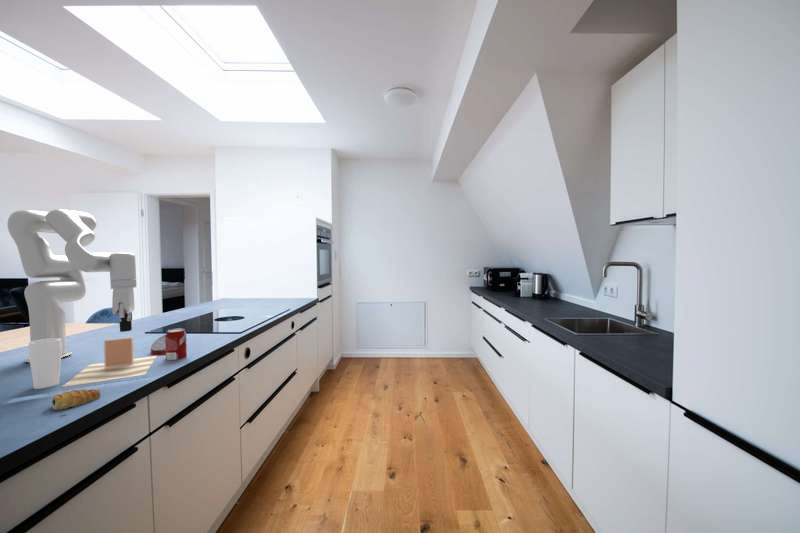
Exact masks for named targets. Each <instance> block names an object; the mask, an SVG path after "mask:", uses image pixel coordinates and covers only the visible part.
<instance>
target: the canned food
mask: <svg viewBox="0 0 800 533" xmlns="http://www.w3.org/2000/svg"><path fill="white" fill-rule="evenodd" d="M165 335H166V334H164V335H162V336H160V337H159V338H157V339H156V340H155V341H154V342H152V344H151V346H150V354H151V355H152V356H158V355H166V347H165Z"/></svg>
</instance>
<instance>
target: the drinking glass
mask: <svg viewBox="0 0 800 533" xmlns="http://www.w3.org/2000/svg"><path fill="white" fill-rule="evenodd" d="M28 357H29V360H30V363H29V366H30V370H31V376H32V377H31V378H32V383H33V389H35V390H37V389H38V390H39V389H47V388H50V387H54V386H57V385H59V384H60V382H61V379H60V378H61V367H62V359H61V357H62V341H61V338H48V339H41V340H35V341H32V342H30V341H29V342H28Z"/></svg>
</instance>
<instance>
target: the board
mask: <svg viewBox="0 0 800 533" xmlns="http://www.w3.org/2000/svg"><path fill="white" fill-rule="evenodd" d="M157 357H158V355H152V356H146V357H137V358H135V357H134V362H135V363H134V364H129V365H122V366H115V367H107V368H104V362H98V363H90V364H88V365H87V366H86V367H85V368H83V369H82V370H81V371H79V372H78V373H77V374H76V375H75V376H73V377H72V378H71V379H69V380H68V381H67V382H66V383H65V384H63V385H62V386H61V388H67V387H74V386H79V385H87V384H93V383H100V382H106V381H113V380H119V379H124V378H125V379H126V378H131V377H132V379H130V381H131V380H133V377H137V376H138V377H139V376H143V378H144V379H145V378H146V377H145V376H146V375H147V372H148V371H149V369H150V368H151V366H152V364H153V363H154V361H155V360H156V359H157ZM144 375H145V376H144ZM138 379H140V377H139V378H136V380H138ZM117 382H120V381H117ZM113 383H114V381H113V382H111V384H113ZM105 384H106V385H107V384H108V383H105ZM100 385H101V383H100V384H98V386H100ZM81 388H82V387H79V389H81ZM67 390H68V391H69V390H70V389H67ZM73 390H76V388H75V387H74V388H73ZM61 391H63V390H61Z"/></svg>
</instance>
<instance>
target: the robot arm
mask: <svg viewBox="0 0 800 533" xmlns="http://www.w3.org/2000/svg"><path fill="white" fill-rule="evenodd" d="M96 227H97V221H96V218H95V217H94V215H92V214H90V213H88V212H85V211H78V210H70V209H61V208H58V209H53V210H50V211H41V210H35V209H34V210H32V209H30V210H29V209H25V210H24V209H23V210H22V209H21V210H16V211H14V212H13V213H11V214H10V215H9V217H8V220H7V230H8V233H9V235H10V237H11V238H12V240H13V241H14V243H15V245H16V247H17V250H18V254H19V257H20V261H21V265H22V269H23V271H24V274H25V275H26V276H27V277H28V278H31V279H55V280H40V281H36V282H33V283H31V284H28V285H27V286H26V288H25V289H24V292H23V293H24V298H25V302H26V305H27V309H28V317H29V318H28V319H29V337H30V338H29V339H30V340H29V342H32V341H35V340H41V339H48V338H61V341H62V357H65V356H68V355H70V354H72V353H73V352H72V351H70V350H67V333H66V331H67V330H66V314H65V313H66V312H65V311H64V309H62V308H61V306H60V305H59V304H62V303H63V304H64V303H71V302H77V301H81V300H82V299H83V298H84V297H85V295H86V291H87V289H86V284H85V280H84V277H83V276H84V275H83V274H82V272H83V273H109V278H110V290H112V304H111V305H112V306H111V307H112V310H111V311H112V313H111V314H112V315H115V316H116V315H118V317H119V332H120V333H124V332H130V331H132V328H133V326H132V312H134V310H135V293H134V292H135V291H134V288H137V287H138V286H137V270H136V267H137V266H136V265H137V264H136V255H135V254H134V253H132V252H90V251H88V250H86V248H85V247H86V246H87V247H88V246H89V245H90V244H92V243H93V241H94V240H95V237H96V236H95V233H94V232H93V231H94V230H95V228H96ZM39 233H46V234H47V233H48V234H49V233H50V234H57V235H58V236H60V237H61V238H62V239H63V240H64V241H65V242H66V243H65V246H64V252H65V253H64V254H65V255H57V254H54V253H53V252H52V250H51V245H50V244H49V242H48V241H47V240H46V239H45V238H44V237H43V236H41V235H40V234H39ZM58 279H59V280H58ZM70 356H71V355H70ZM62 357H61V358H62ZM68 357H69V356H68ZM65 358H66V357H65ZM62 359H63V358H62ZM24 362H25V363H26V362H28V363H27V364H30V360H29V356H28V357H26V358H25V359H24Z"/></svg>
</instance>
